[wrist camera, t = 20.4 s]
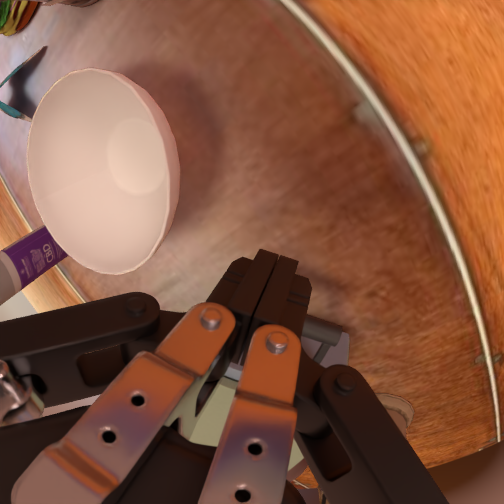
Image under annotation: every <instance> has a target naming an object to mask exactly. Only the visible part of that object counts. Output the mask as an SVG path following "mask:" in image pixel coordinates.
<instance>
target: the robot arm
mask: <svg viewBox="0 0 504 504" xmlns="http://www.w3.org/2000/svg"><path fill="white" fill-rule="evenodd" d="M0 1H1V0H0ZM14 1H38V2H47V3H45V4H43V5H44V6H51V5H54V4H57V3H60V4H65V5H71V6H76V7H85V6H88V5H91V4H93V3H95V2H96V1H98V0H14ZM278 257H279V254H275V253H272V252H269V251H266V250H263V249H259V251H258V253H257V255H256V256H255V258H254V260H251V259H248V258H245V257H241V258H239V259H237V260H235V261H233V262H232V263H231V265H230V266H229V268H228V269H227V272H225V274H224V275H223V277H222V278H221V280H220V281H219V283H218V284H217V285H216V287H215V288H214V290H213V291H212V293H211V294H210V296H209V297H208V299H207V300H206V302H204V303H199V304H197V305H194V306H193V307H192V308H191V309H190V310H189V311H188V312H184V313H179V312H171V311H164V310H160V306H159V303H158V302H157V300H156V299H155V298H154V297H152V296H151V295H149V294H146V293H142V292H131V293H126V294H122V295H117V296H113V297H109V298H105V299H100V300H96V301H92V302H87V303H83V304H79V305H74V306H70V307H65V308H61V309H57V310H52V311H48V312H43V313H39V314H34V315H30V316H25V317H21V318H16V319H12V320H7V321H3V322H0V504H306V503H305V501H304V499H303V497H302V496H301V494H300V493H299V491H298V490H297V489H296V488H295V487H294V486H293V485H292V484H291V483H290V482H289V481H288V480H287V479H286V477H287V472H288V467H289V462H290V456H291V450H292V445H293V439H294V440H295V441H296V443H297V445H298V447H299V449H300V451H301V453H302V455H303V457H304V458H305V460H306V462H307V464H308V466H309V468H310V470H311V471H312V473H313V475H314V477H315V479H316V481H317V482H318V484H319V486H320V488H321V490H322V491H323V493H324V495H325V497H326V498H327V500H328V502H329V504H449V503H448V501H447V500H446V498H445V497H444V495H443V494H442V492H441V490H440V489H439V487H438V486H437V485H436V483H435V481H434V480H433V478H432V477H431V475H430V474H429V472H428V471H427V469H426V468H425V466H424V465H423V463H422V462H421V460H420V459H419V457H418V456H417V454H416V453H415V451H414V450H413V448H412V447H411V445H410V444H409V442H408V441H407V440H406V438H405V437H404V435H403V434H402V432H401V431H400V429H399V428H398V426H397V425H396V423H395V422H394V420H393V419H392V418H391V416H390V415H389V413H388V412H387V410H386V409H385V407H384V406H383V405H382V403H381V402H380V400H379V399H378V397H377V396H376V394H375V393H374V392H373V390H372V389H371V387H370V386H369V384H368V383H367V382H366V380H365V379H364V377H363V376H362V375H361V374H360V373H359V372H358V371H357V370H356V369H354V368H352V367H350V366H347V365H343V364H335V365H331V366H329V367H327V368H325V367H324V366H322V365H320V364H319V363H317V362H315V361H314V360H313V359H311V358H310V357H309V356H308V355H307V354H306V352H305V351H304V349H303V347H302V344H301V335H302V331H303V327H304V322H305V318H306V314H307V309H308V305H309V300H310V295H311V291H312V287H311V284H310V282H309V279H308V278H306V277H303V276H300V275H297V274H295V272H296V269H297V265H298V262H299V261H297V260H294V259H291V258H288V257H285V256H282V255H280V257H279V259H278ZM277 260H278V261H277ZM116 345H117V346H116ZM112 346H113V347H112ZM109 347H110V348H109ZM105 348H106V349H105ZM101 349H102V350H101ZM97 350H98V351H97ZM93 351H94V352H93ZM243 351H244V352H243ZM89 352H90V353H89ZM85 353H86V354H85ZM242 354H243V355H242ZM241 356H242V359H241V362H240V365H241V366H243V369H242V372H241V375H240V378H239V382H238V385H237V388H236V391H235V394H234V397H233V400H232V403H231V406H230V409H229V412H228V416H227V419H226V422H225V425H224V428H223V431H222V434H221V437H220V440H219V443H218V446H217V447H216V446H209V445H203V444H197V443H193V442H190V441H189V440H190V438H191V435H192V433H193V431H194V428H195V426H196V424H197V422H198V420H199V418H200V417H201V415H202V413H203V412H204V410H205V408H206V407H207V405H208V403H209V402H210V400H211V398H212V397H213V395H214V393H215V392H216V390H217V388H218V387H219V385H220V383H221V382H222V379H223V376H224V375H225V373H226V371H227V369H228V367H229V365H230V363H231V362H232V363H235V364H237V365H238V363H239V360H240V358H241ZM99 394H101V395H100V396H99V397H98V398H97V400H96V401H95V402H94V403H93V404H92V405H88V406H82V407H78V408H75V409H71V410H67V411H64V412H60V413H57V414H53V415H49V416H45V417H42V413H43V410H44V408H47V407H52V406H56V405H60V404H65V403H69V402H73V401H76V400H81V399H84V398H88V397H92V396H96V395H99Z"/></svg>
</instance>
